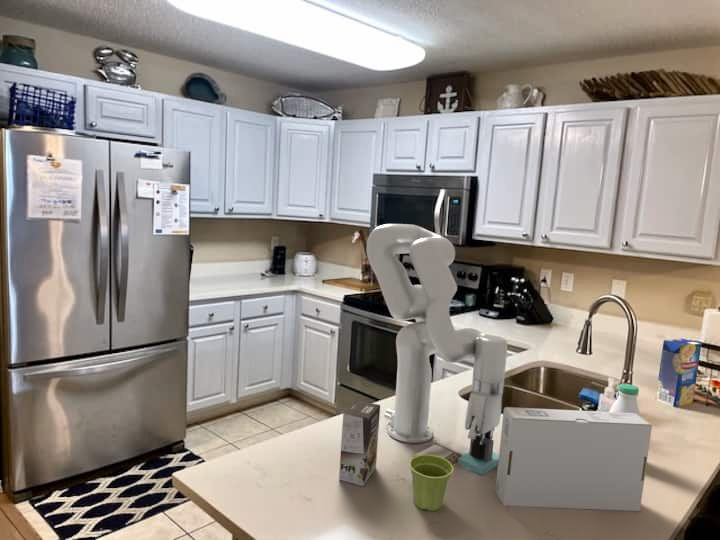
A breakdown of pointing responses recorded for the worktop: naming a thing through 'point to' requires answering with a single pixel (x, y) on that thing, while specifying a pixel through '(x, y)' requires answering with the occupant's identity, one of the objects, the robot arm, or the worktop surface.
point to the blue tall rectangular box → (678, 372)
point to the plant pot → (429, 480)
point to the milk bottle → (626, 400)
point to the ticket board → (441, 453)
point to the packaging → (572, 459)
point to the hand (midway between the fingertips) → (480, 455)
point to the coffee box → (359, 442)
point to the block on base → (477, 464)
